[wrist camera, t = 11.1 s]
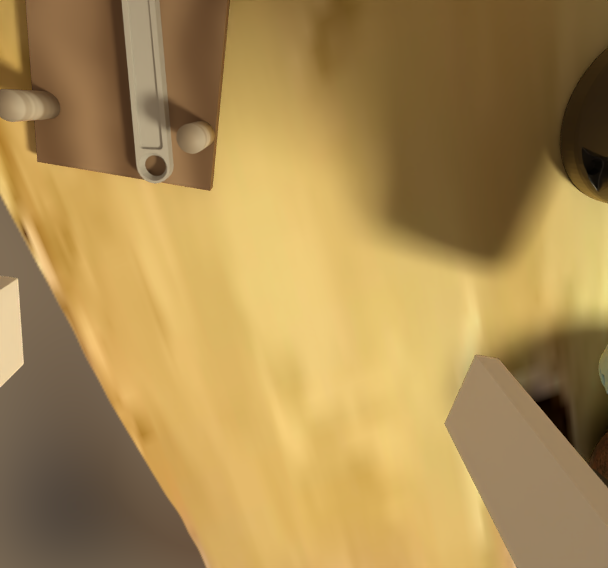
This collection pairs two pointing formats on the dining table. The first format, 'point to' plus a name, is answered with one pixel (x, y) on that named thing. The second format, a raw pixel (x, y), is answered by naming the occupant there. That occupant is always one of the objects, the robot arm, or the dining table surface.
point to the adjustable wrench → (147, 85)
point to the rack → (120, 87)
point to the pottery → (600, 457)
